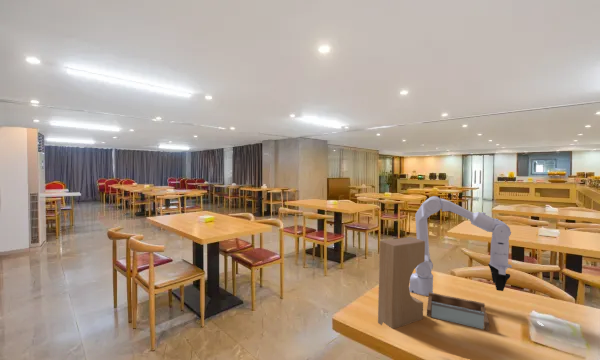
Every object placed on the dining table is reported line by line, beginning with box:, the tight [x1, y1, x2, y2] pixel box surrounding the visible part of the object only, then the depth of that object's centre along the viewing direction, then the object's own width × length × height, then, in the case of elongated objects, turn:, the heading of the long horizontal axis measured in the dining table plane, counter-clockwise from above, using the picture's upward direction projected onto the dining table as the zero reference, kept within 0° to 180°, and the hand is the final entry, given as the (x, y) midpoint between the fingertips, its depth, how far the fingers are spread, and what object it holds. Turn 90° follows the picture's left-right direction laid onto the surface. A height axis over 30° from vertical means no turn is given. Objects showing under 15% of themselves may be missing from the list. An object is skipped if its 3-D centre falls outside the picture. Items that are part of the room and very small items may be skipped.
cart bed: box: [426, 292, 490, 332], centre depth 104 cm, size 19×14×5 cm
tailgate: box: [431, 301, 484, 330], centre depth 98 cm, size 16×1×6 cm, turn 62°
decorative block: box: [377, 236, 425, 330], centre depth 100 cm, size 15×8×30 cm, turn 116°
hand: (497, 286), depth 109 cm, fingers open, 7 cm apart
